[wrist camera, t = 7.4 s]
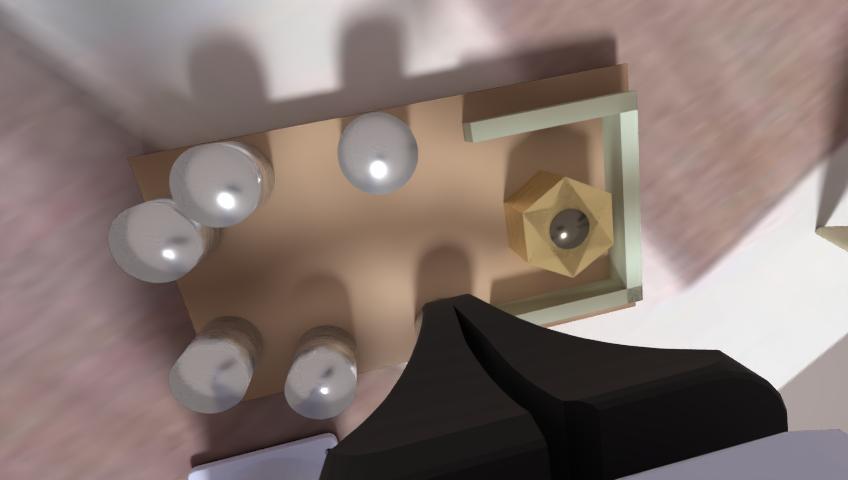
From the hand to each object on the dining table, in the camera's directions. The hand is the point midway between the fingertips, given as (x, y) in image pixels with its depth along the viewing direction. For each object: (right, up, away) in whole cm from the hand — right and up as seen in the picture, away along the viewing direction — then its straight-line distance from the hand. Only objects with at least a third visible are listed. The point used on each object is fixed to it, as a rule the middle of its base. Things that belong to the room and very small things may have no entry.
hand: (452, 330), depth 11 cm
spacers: (-6, +1, +8) cm, 10 cm away
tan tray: (-1, +3, +9) cm, 10 cm away
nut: (+5, +4, +9) cm, 11 cm away
